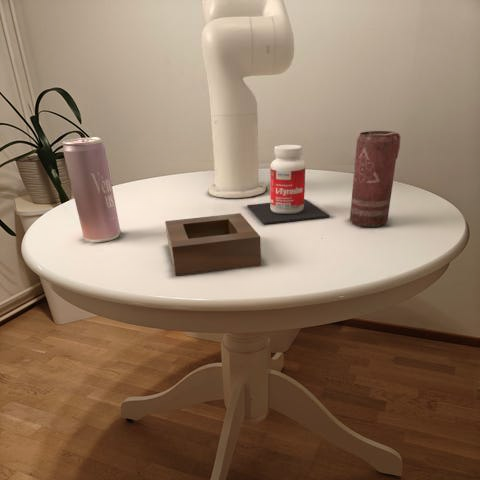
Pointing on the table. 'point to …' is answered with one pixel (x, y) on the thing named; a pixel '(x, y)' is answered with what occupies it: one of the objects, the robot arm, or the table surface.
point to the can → (373, 177)
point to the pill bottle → (287, 180)
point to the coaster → (270, 217)
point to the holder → (212, 244)
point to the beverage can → (92, 188)
